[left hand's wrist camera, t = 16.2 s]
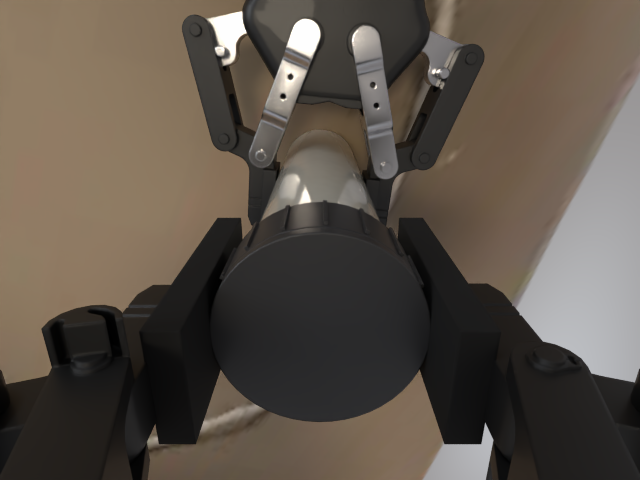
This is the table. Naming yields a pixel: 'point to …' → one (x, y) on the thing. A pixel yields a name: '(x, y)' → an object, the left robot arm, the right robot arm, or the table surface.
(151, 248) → the table surface
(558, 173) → the table surface
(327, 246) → the lid
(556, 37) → the table surface
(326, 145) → the jar
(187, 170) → the table surface
